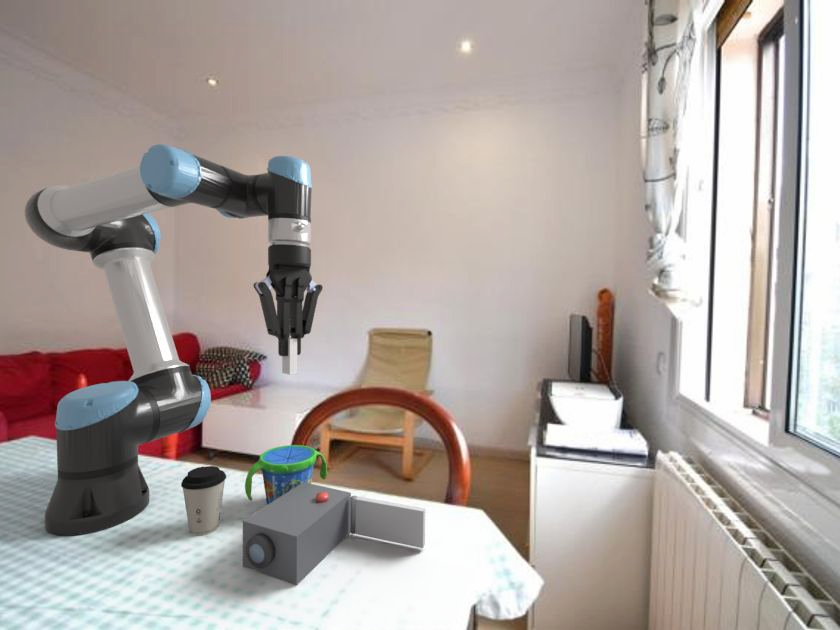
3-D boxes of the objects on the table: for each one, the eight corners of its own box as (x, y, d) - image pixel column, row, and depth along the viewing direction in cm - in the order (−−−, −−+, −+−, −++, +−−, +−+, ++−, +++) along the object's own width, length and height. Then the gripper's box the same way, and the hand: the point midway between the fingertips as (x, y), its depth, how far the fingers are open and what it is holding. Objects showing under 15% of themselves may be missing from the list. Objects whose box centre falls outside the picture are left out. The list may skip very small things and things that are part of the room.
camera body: (235, 572, 59) (235, 520, 58) (303, 519, 73) (303, 477, 73) (290, 591, 55) (290, 536, 55) (350, 532, 69) (350, 488, 69)
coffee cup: (235, 521, 72) (235, 466, 72) (203, 543, 65) (203, 483, 65) (205, 514, 74) (204, 461, 74) (171, 535, 68) (170, 477, 67)
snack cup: (318, 485, 87) (318, 438, 86) (336, 506, 78) (336, 454, 77) (240, 504, 78) (240, 453, 78) (250, 530, 69) (250, 472, 69)
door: (422, 548, 64) (423, 511, 64) (349, 533, 68) (349, 498, 68) (425, 542, 65) (426, 506, 65) (353, 527, 69) (354, 493, 69)
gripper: (265, 239, 66) (265, 381, 67) (331, 247, 76) (330, 371, 77) (245, 243, 71) (245, 375, 72) (309, 250, 81) (309, 366, 82)
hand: (289, 373), depth 74 cm, fingers closed
